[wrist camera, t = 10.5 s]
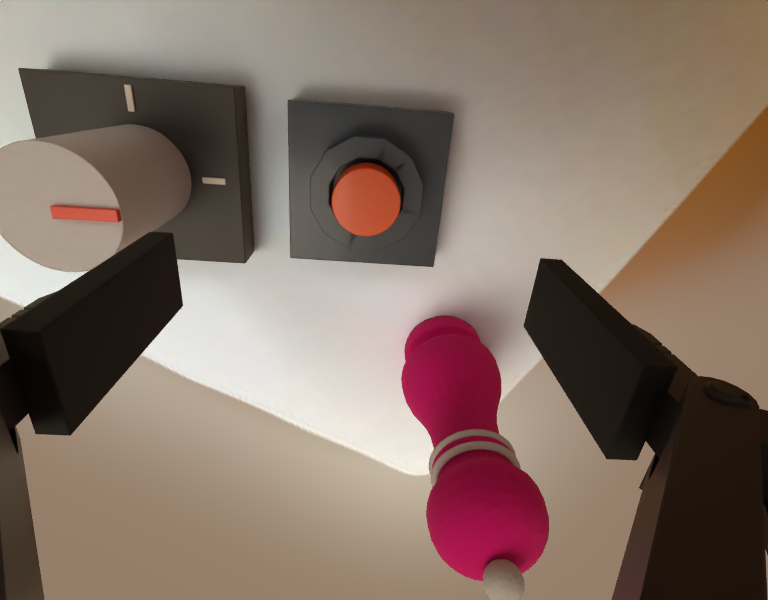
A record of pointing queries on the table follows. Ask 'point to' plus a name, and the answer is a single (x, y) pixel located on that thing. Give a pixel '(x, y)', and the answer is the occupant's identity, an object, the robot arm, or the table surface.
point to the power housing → (372, 145)
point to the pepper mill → (472, 460)
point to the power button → (366, 199)
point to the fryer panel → (182, 127)
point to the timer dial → (89, 193)
